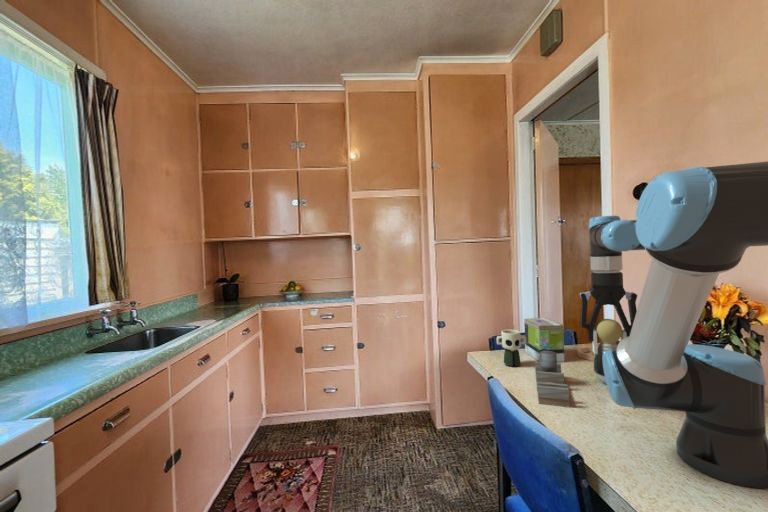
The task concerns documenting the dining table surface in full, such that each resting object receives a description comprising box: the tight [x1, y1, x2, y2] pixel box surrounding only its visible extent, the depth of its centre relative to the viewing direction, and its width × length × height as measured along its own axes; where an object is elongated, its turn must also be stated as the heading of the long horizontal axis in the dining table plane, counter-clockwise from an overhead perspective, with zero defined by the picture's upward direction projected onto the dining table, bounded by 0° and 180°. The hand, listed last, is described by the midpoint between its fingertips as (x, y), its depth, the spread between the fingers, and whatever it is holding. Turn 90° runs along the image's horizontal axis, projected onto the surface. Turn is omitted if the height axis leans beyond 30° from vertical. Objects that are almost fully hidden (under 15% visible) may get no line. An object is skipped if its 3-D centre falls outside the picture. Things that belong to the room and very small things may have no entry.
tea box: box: [523, 317, 565, 363], centre depth 142 cm, size 15×10×15 cm, turn 179°
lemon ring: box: [576, 345, 598, 362], centre depth 140 cm, size 14×14×2 cm
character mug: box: [496, 329, 526, 367], centre depth 135 cm, size 11×7×13 cm, turn 84°
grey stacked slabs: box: [534, 351, 571, 408], centre depth 111 cm, size 24×8×10 cm, turn 158°
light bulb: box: [594, 318, 623, 353], centre depth 97 cm, size 6×6×10 cm
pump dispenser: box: [593, 339, 621, 385], centre depth 113 cm, size 10×10×15 cm
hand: (609, 353), depth 98 cm, fingers closed on light bulb, 6 cm apart
